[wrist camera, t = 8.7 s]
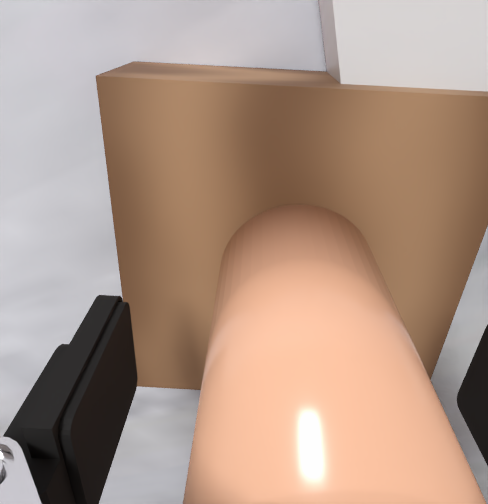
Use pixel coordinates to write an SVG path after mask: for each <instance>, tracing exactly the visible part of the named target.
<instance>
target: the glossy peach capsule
mask: <svg viewBox="0 0 488 504" xmlns="http://www.w3.org/2000/svg"><path fill="white" fill-rule="evenodd" d="M183 504H486V501H485V499H484V497H483V495H482V493H481V490H480V488H479V486H478V484H477V482H476V479H475V477H474V475H473V473H472V471H471V469H470V466H469V464H468V462H467V460H466V458H465V455H464V453H463V451H462V449H461V447H460V444H459V442H458V440H457V438H456V436H455V433H454V431H453V429H452V427H451V425H450V423H449V420H448V418H447V416H446V414H445V412H444V409H443V407H442V405H441V403H440V401H439V398H438V396H437V394H436V392H435V390H434V387H433V385H432V383H431V381H430V379H429V377H428V374H427V372H426V370H425V368H424V366H423V363H422V361H421V359H420V357H419V355H418V352H417V350H416V348H415V346H414V344H413V341H412V339H411V337H410V335H409V333H408V331H407V328H406V326H405V324H404V322H403V320H402V317H401V315H400V313H399V311H398V309H397V306H396V304H395V302H394V300H393V298H392V295H391V293H390V291H389V289H388V287H387V285H386V282H385V280H384V278H383V276H382V274H381V271H380V269H379V267H378V265H377V263H376V260H375V258H374V256H373V254H372V252H371V249H370V247H369V245H368V243H367V241H366V239H365V237H364V236H363V235H362V233H361V232H360V230H359V229H358V228H357V227H356V226H355V225H354V224H353V223H352V222H350V221H349V220H348V219H346V218H345V217H343V216H342V215H340V214H338V213H336V212H334V211H331V210H329V209H326V208H322V207H318V206H312V205H287V206H281V207H277V208H273V209H270V210H267V211H265V212H262V213H260V214H258V215H256V216H255V217H253V218H251V219H250V220H249V221H247V222H246V223H244V224H243V225H242V226H241V227H240V228H239V229H238V230H237V231H236V232H235V234H234V235H233V236H232V237H231V239H230V240H229V242H228V244H227V246H226V248H225V250H224V253H223V256H222V260H221V265H220V272H219V278H218V285H217V291H216V297H215V304H214V310H213V316H212V323H211V329H210V335H209V342H208V348H207V354H206V361H205V367H204V373H203V380H202V386H201V392H200V399H199V405H198V411H197V418H196V424H195V430H194V437H193V443H192V449H191V456H190V462H189V468H188V475H187V481H186V487H185V494H184V500H183Z"/></svg>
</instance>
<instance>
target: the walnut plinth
mask: <svg viewBox="0 0 488 504" xmlns="http://www.w3.org/2000/svg"><path fill="white" fill-rule="evenodd" d="M96 82H97V90H98V98H99V107H100V115H101V123H102V131H103V140H104V148H105V156H106V164H107V172H108V181H109V189H110V197H111V205H112V213H113V222H114V230H115V238H116V246H117V255H118V263H119V271H120V279H121V287H122V296H123V302H128V303H129V306H130V314H131V323H132V331H133V340H134V349H135V358H136V367H137V377H138V379H137V386H142V387H159V388H177V389H194V390H201V386H202V380H203V373H204V367H205V361H206V354H207V348H208V342H209V335H210V329H211V323H212V316H213V310H214V304H215V297H216V291H217V285H218V278H219V272H220V265H221V260H222V256H223V253H224V250H225V248H226V246H227V244H228V242H229V240H230V239H231V237H232V236H233V235H234V234H235V232H236V231H237V230H238V229H239V228H240V227H241V226H242V225H243V224H244V223H246V222H247V221H249V220H250V219H251V218H253V217H255V216H256V215H258V214H260V213H262V212H265V211H267V210H270V209H273V208H277V207H281V206H287V205H312V206H318V207H322V208H326V209H329V210H331V211H334V212H336V213H338V214H340V215H342V216H343V217H345V218H346V219H348V220H349V221H350V222H352V223H353V224H354V225H355V226H356V227H357V228H358V229H359V230H360V232H361V233H362V235H363V236H364V237H365V239H366V241H367V243H368V245H369V247H370V249H371V252H372V254H373V256H374V258H375V260H376V263H377V265H378V267H379V269H380V271H381V274H382V276H383V278H384V280H385V282H386V285H387V287H388V289H389V291H390V293H391V295H392V298H393V300H394V302H395V304H396V306H397V309H398V311H399V313H400V315H401V317H402V320H403V322H404V324H405V326H406V328H407V331H408V333H409V335H410V337H411V339H412V341H413V344H414V346H415V348H416V350H417V352H418V355H419V357H420V359H421V361H422V363H423V366H424V368H425V370H426V372H427V374H428V377H429V379H431V377H432V374H433V371H434V369H435V366H436V363H437V360H438V358H439V355H440V352H441V350H442V347H443V344H444V342H445V339H446V336H447V333H448V331H449V328H450V325H451V323H452V320H453V317H454V315H455V312H456V309H457V306H458V304H459V301H460V298H461V296H462V293H463V290H464V288H465V285H466V282H467V280H468V277H469V274H470V271H471V269H472V266H473V263H474V261H475V258H476V255H477V253H478V250H479V247H480V244H481V242H482V239H483V236H484V234H485V231H486V228H487V226H488V92H487V91H468V90H449V89H430V88H411V87H392V86H372V85H353V84H341V83H339V82H338V81H337V80H336V79H335V78H334V77H332V76H331V75H330V74H329V73H328V72H324V71H305V70H285V69H266V68H247V67H228V66H209V65H190V64H171V63H152V62H131V63H129V64H126V65H123V66H121V67H118V68H115V69H113V70H110V71H108V72H105V73H102V74H100V75H97V76H96Z"/></svg>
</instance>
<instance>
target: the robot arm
mask: <svg viewBox="0 0 488 504" xmlns="http://www.w3.org/2000/svg"><path fill="white" fill-rule="evenodd" d="M137 379H138V377H137V367H136V358H135V349H134V340H133V331H132V323H131V314H130V306H129V303H128V302H123V300H122V297H120V296H107V295H99V296H97V297H96V299H95V301H94V302H93V304H92V306H91V308H90V309H89V311H88V313H87V314H86V316H85V318H84V320H83V321H82V323H81V325H80V327H79V328H78V330H77V332H76V334H75V335H74V337H73V339H72V341H71V342H70V344H62V345H60V346H58V348H57V349H56V350H55V352H54V353H53V355H52V357H51V358H50V360H49V362H48V363H47V365H46V366H45V368H44V370H43V371H42V373H41V375H40V376H39V378H38V380H37V381H36V383H35V385H34V386H33V388H32V390H31V391H30V393H29V394H28V396H27V398H26V399H25V401H24V403H23V404H22V406H21V408H20V409H19V411H18V413H17V414H16V416H15V418H14V419H13V421H12V422H11V424H10V426H9V427H8V429H7V431H6V432H5V434H4V436H3V437H2V436H0V504H99V501H100V498H101V495H102V491H103V488H104V485H105V482H106V479H107V476H108V473H109V470H110V467H111V464H112V461H113V458H114V455H115V452H116V449H117V446H118V443H119V440H120V437H121V434H122V431H123V428H124V425H125V422H126V419H127V415H128V412H129V409H130V406H131V403H132V400H133V397H134V394H135V391H136V387H137ZM457 404H458V407H459V410H460V412H461V414H462V416H463V418H464V420H465V422H466V424H467V426H468V428H469V430H470V432H471V434H472V436H473V438H474V440H475V441H476V443H477V445H478V447H479V449H480V451H481V453H482V455H483V457H484V459H485V461H486V463H487V465H488V325H487V327H486V329H485V331H484V333H483V336H482V338H481V340H480V343H479V345H478V347H477V350H476V352H475V355H474V357H473V359H472V362H471V364H470V366H469V369H468V371H467V373H466V376H465V378H464V380H463V383H462V385H461V387H460V390H459V392H458V395H457Z"/></svg>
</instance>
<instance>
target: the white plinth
mask: <svg viewBox="0 0 488 504" xmlns="http://www.w3.org/2000/svg"><path fill="white" fill-rule="evenodd" d="M319 8H320V17H321V26H322V35H323V43H324V52H325V61H326V70H327V72H328V73H329V74H330V75H331V76H332V77H334V78H335V79H336V80H337V81H338V82H339V83H341V84H353V85H372V86H392V87H411V88H430V89H449V90H468V91H487V92H488V0H319Z"/></svg>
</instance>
